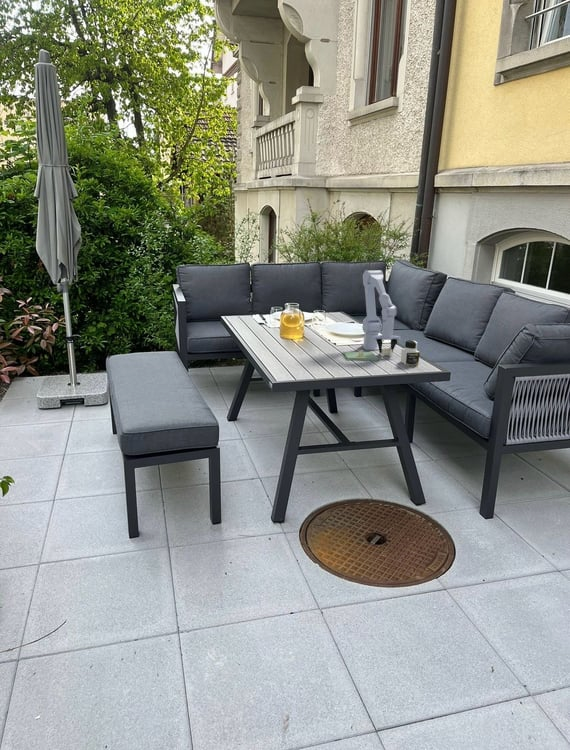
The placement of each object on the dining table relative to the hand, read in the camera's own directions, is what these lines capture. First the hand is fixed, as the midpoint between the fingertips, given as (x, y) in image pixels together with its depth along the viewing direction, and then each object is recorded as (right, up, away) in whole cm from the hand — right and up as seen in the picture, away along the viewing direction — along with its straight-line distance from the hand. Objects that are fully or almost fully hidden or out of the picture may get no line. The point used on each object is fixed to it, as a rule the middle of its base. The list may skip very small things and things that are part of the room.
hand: (385, 352), depth 309 cm
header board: (-15, -3, -5) cm, 16 cm away
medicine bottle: (+10, -6, -13) cm, 18 cm away
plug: (0, -2, +1) cm, 2 cm away
